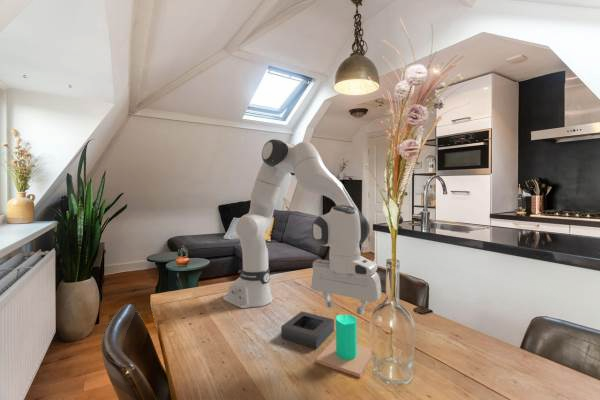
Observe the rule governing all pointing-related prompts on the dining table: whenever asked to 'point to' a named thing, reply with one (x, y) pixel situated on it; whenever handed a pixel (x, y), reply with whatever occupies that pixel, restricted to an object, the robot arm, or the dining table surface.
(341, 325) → the candle
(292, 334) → the holder
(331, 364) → the tile
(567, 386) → the dining table surface
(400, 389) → the dining table surface
